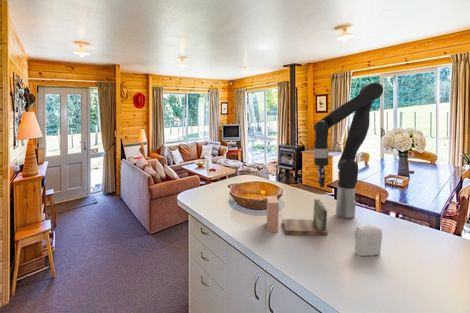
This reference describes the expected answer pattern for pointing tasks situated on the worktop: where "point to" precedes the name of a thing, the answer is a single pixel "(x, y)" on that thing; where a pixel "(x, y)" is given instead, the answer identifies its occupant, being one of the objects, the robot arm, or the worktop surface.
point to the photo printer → (368, 240)
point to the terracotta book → (272, 213)
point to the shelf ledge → (308, 222)
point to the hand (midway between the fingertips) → (321, 185)
